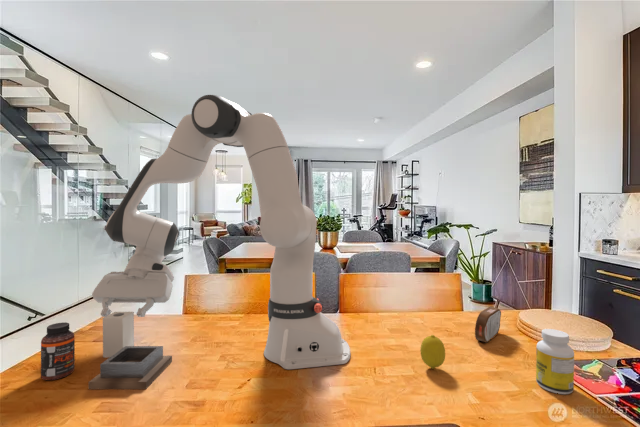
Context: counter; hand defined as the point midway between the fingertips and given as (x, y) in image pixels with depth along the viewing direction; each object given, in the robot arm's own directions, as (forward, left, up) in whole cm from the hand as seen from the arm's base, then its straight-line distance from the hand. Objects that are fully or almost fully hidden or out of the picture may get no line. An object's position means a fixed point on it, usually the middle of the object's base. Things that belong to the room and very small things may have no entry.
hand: (122, 315), depth 86 cm
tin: (-102, -7, -9) cm, 103 cm away
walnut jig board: (-10, +13, -9) cm, 19 cm away
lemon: (-79, +11, -9) cm, 80 cm away
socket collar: (-10, +13, -8) cm, 18 cm away
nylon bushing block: (0, +2, -9) cm, 9 cm away
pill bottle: (-102, +19, -9) cm, 104 cm away
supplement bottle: (+7, +13, -9) cm, 17 cm away
